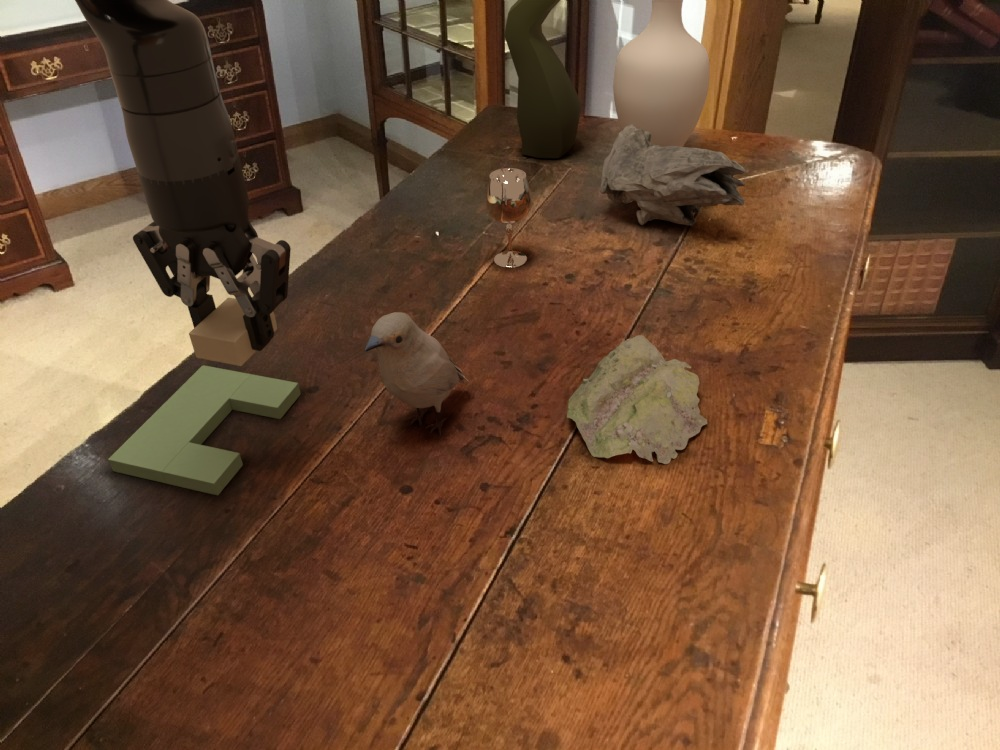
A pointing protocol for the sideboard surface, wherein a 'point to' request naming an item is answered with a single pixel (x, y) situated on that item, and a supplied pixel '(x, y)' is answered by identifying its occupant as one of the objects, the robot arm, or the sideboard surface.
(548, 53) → the tentacle
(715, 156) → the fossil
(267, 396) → the green c-shaped block
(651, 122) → the vase
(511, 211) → the wineglass
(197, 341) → the cream pad
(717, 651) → the sideboard surface
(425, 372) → the bird
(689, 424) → the mossy green rock
